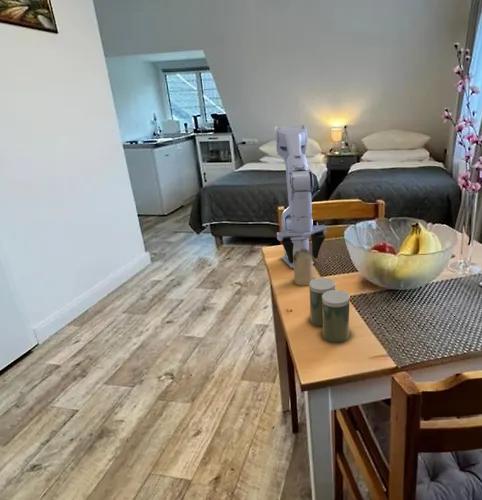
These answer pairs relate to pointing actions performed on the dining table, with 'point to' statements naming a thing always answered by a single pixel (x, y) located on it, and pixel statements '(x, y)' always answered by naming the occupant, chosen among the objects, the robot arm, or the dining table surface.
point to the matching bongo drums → (329, 309)
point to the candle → (303, 267)
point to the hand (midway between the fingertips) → (303, 259)
